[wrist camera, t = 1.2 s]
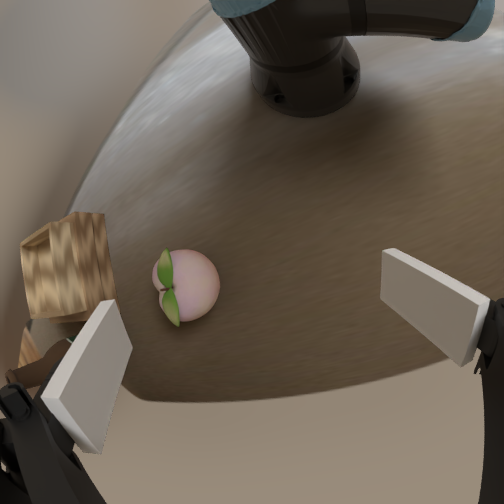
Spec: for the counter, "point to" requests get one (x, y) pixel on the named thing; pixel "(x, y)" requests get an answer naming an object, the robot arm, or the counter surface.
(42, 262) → the top crate
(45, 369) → the beer bottle
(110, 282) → the base crate
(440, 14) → the robot arm
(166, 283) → the decorative fruit
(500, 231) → the counter surface
